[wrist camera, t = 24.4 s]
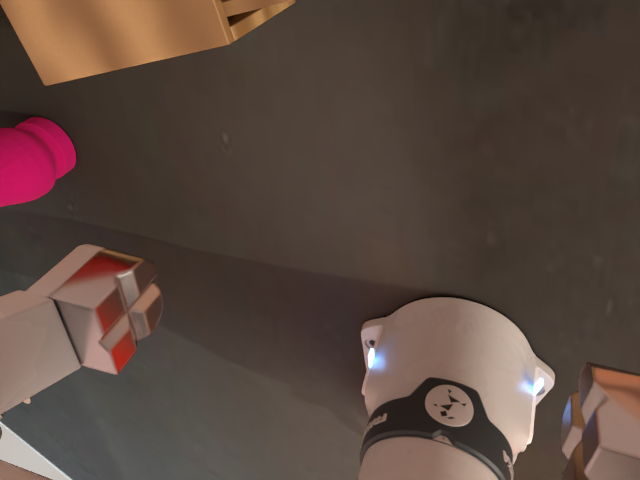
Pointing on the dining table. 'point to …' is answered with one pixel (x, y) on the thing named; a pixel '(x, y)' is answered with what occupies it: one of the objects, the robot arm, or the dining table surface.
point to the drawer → (247, 5)
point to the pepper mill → (32, 159)
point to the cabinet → (122, 32)
